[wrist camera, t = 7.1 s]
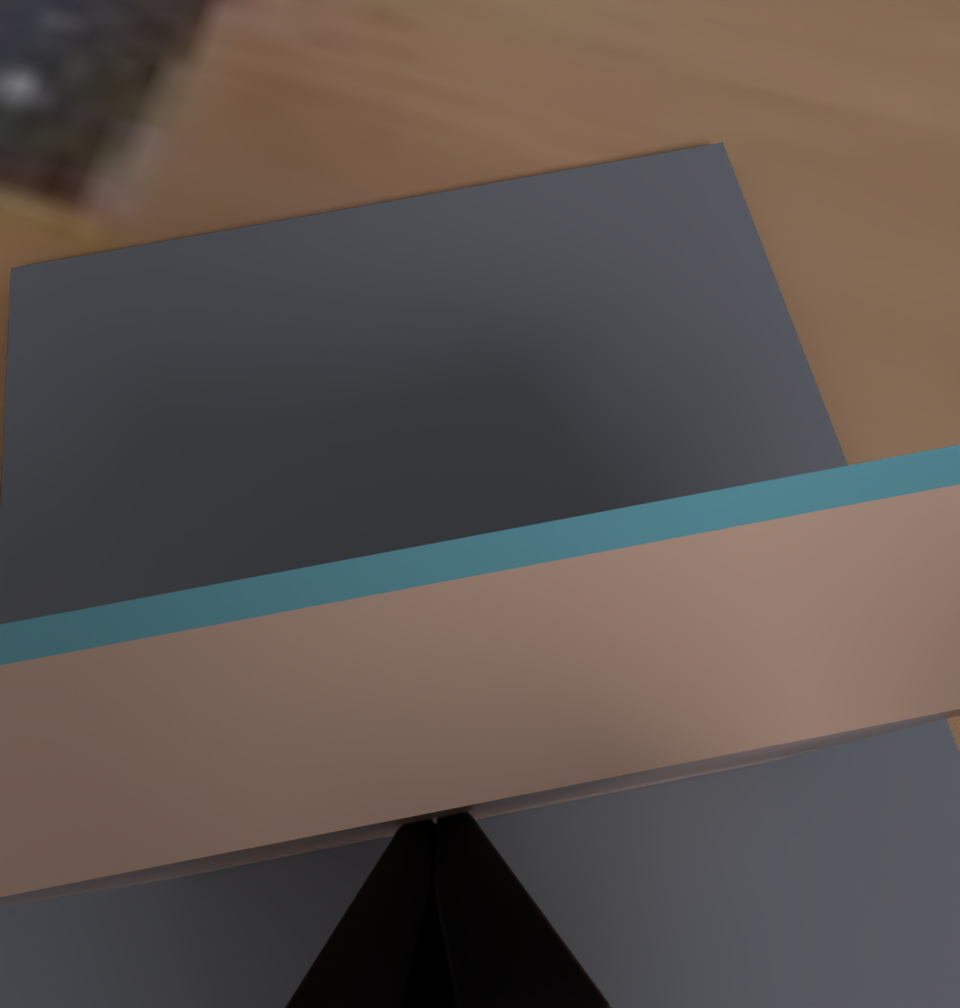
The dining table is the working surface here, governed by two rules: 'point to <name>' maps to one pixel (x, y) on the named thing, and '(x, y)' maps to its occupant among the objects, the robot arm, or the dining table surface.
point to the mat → (452, 515)
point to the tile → (477, 676)
